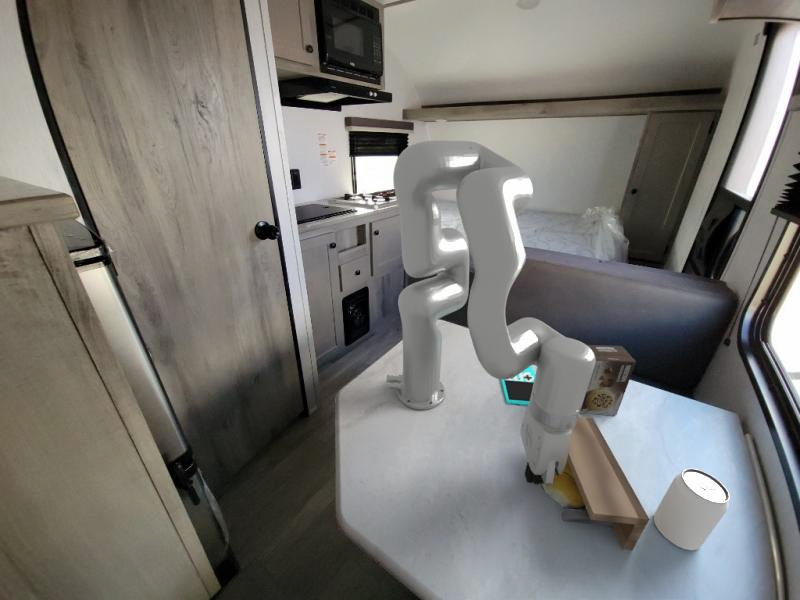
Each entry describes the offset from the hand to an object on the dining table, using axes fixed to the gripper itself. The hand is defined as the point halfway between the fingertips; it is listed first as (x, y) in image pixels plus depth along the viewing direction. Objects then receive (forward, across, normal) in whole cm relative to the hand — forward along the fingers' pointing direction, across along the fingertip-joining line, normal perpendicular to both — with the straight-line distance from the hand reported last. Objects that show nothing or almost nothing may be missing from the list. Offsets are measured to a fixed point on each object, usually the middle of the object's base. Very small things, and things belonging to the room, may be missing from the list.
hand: (533, 479), depth 61 cm
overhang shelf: (+1, 0, +9) cm, 9 cm away
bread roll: (+2, 0, +6) cm, 6 cm away
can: (+2, +6, +22) cm, 23 cm away
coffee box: (+2, -23, +20) cm, 31 cm away
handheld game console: (+2, -29, +4) cm, 29 cm away
